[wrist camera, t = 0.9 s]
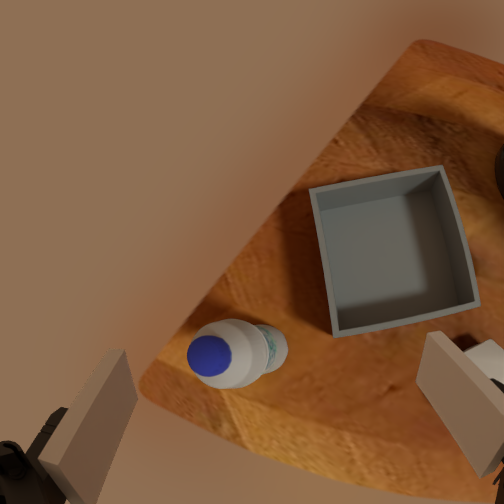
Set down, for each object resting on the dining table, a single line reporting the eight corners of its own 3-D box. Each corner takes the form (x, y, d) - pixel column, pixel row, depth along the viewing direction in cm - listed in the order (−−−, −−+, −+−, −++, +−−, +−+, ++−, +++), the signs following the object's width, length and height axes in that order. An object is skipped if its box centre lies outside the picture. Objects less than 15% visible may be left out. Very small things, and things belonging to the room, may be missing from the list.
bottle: (234, 344, 43) (150, 347, 25) (270, 313, 43) (208, 296, 24) (263, 382, 41) (196, 415, 22) (302, 351, 40) (262, 367, 22)
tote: (431, 188, 40) (442, 164, 34) (461, 310, 35) (480, 306, 29) (315, 210, 45) (308, 189, 38) (335, 337, 40) (333, 338, 33)
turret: (488, 456, 30) (501, 468, 25) (423, 380, 34) (435, 389, 30) (531, 406, 29) (547, 414, 25) (473, 323, 34) (490, 326, 29)
